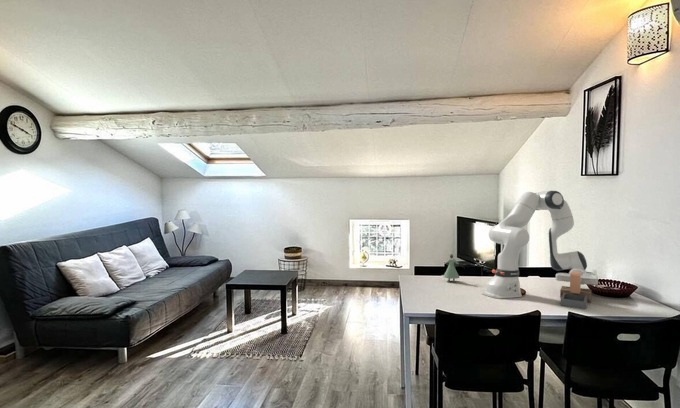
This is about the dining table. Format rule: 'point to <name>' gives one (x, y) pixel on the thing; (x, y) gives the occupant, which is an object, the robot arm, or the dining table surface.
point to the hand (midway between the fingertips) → (575, 281)
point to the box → (574, 300)
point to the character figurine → (451, 269)
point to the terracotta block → (575, 282)
